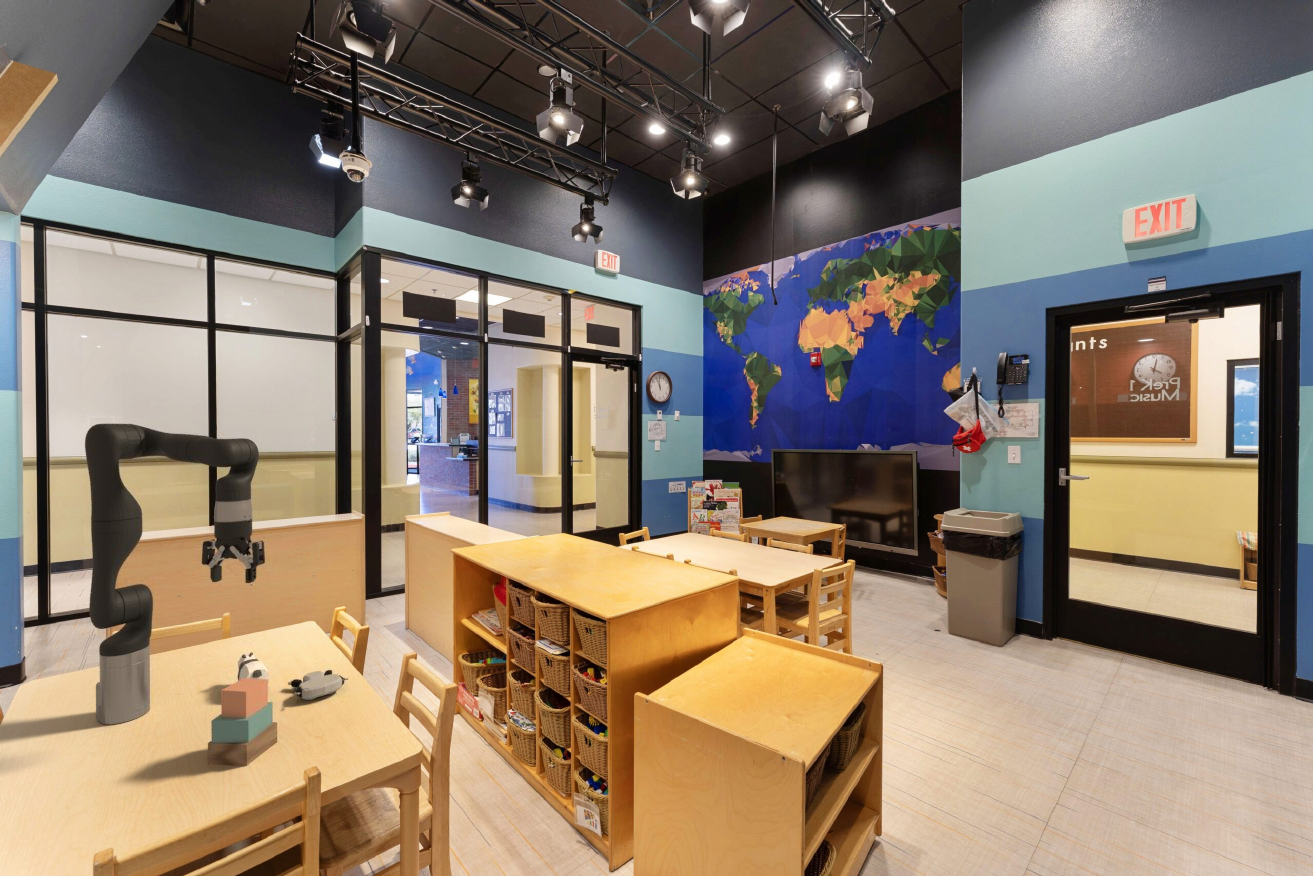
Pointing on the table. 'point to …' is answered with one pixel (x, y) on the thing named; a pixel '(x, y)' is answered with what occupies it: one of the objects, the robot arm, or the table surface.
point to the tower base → (242, 749)
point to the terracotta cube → (244, 698)
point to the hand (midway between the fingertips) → (233, 581)
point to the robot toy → (317, 684)
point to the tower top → (241, 726)
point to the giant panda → (251, 668)
